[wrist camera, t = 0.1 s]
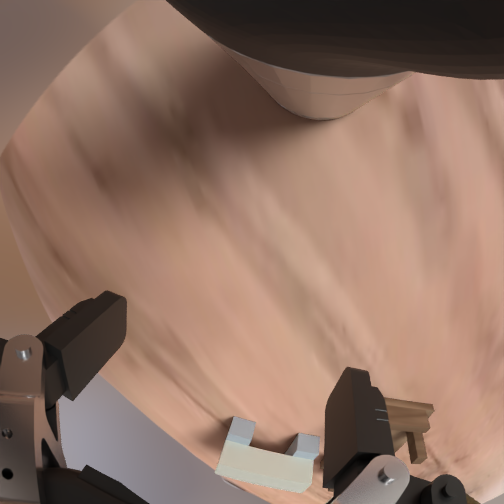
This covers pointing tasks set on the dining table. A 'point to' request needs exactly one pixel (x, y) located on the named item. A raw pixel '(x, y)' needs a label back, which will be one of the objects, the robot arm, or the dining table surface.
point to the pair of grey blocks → (300, 448)
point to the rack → (407, 427)
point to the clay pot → (471, 500)
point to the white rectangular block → (265, 467)
